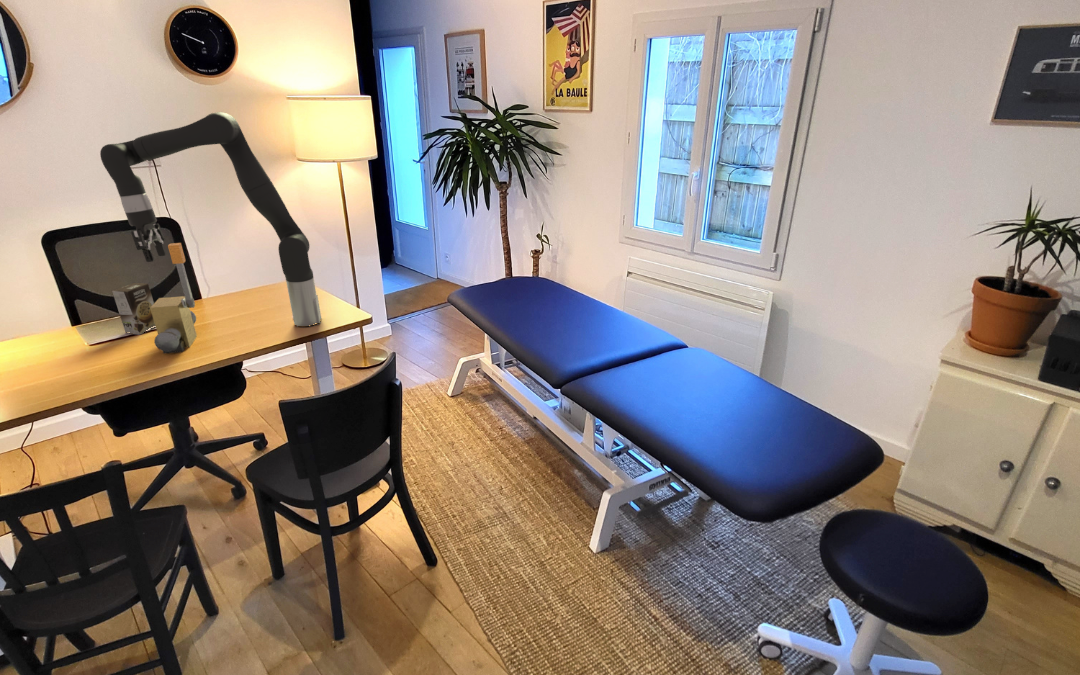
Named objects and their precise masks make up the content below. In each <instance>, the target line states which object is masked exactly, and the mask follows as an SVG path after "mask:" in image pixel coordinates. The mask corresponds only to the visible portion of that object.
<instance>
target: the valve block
mask: <svg viewBox="0 0 1080 675" xmlns="http://www.w3.org/2000/svg"><path fill="white" fill-rule="evenodd" d="M150 309H151V313H152V316H153V319H154V323H155V326H156V327H155V329H156V333H157V334H156V336H155V338H154V345H155V347H156V348H157V349H158V350H160V351H162V354H163V355H166V354H175V353H183V352H184V351H185V349H186V348H190V347H191V346H192V345H193V343H194V342H195V340H196V338H197V337H198V334H197V331H196V327H195V324H196V323H197V322H196V321H197V316H196V314H195V313H194V311H192V310H191V308H188V307H187V306H186V299H185V295H184V296H183V295H182V296H181V295H180V296H171V297H158V299H157V300H156V301H154V304H153V305H152V306H151V307H150Z"/></svg>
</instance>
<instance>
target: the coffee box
mask: <svg viewBox="0 0 1080 675" xmlns="http://www.w3.org/2000/svg"><path fill="white" fill-rule="evenodd" d="M111 291H112V294H113V298H114V302H115V304H116V307H117V310H118V313H119V314H118V315H119V317H120V320H121V323H122V327H123V330H124V332H130V333H133V334H132V335H139V336H140V335H142V334H144V332H145V331H146V330H148V329H149V328H151V327H153V326H155V323H154V319H153V316H152V313H151V309H150V307H151V306H152V305H153V304H154V303H155V301H154V299H153V295H152V292H151V289H150V285H149V283H145V282H139V283H138V282H132V283H129V284H126V285H124V286H121V287H118V288H116V289H113V290H111ZM145 333H146V332H145Z"/></svg>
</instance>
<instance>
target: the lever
mask: <svg viewBox="0 0 1080 675" xmlns="http://www.w3.org/2000/svg"><path fill="white" fill-rule="evenodd" d="M167 247H168V248H167V249H168V251H169V254H170V258H171V262H172V265H176V269H177V274H178V277H179V281H180V284H181V287H182V292H183V294H184V296H185V299H186V306H187V307H188V308H189V309H192V308H193V309H194V308H195V306H196V302H195V299H194V297H193V293H192V290H191V286H190V283H189V279H188V275H187V272H186V268H185V265H184V264H185V263H186V256H185V253H184V249H183V245H182V242H175V243H174V242H173V243H169V244H168V245H167Z"/></svg>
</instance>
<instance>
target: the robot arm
mask: <svg viewBox="0 0 1080 675" xmlns="http://www.w3.org/2000/svg"><path fill="white" fill-rule="evenodd" d="M210 145H211V146H212V145H220V146H221V147H222V149H223V150H224V151H225V152H224V153H226V155H228V157H229V159H230V161H231V163H232V166H233V168H234V171H235V175H236V176H237V180H238V183H239V185H240V187H241V189H242V191H243V192H244V194H245V195H246V197H247V199H248V200H249V202H250V203H251V205H252V206H253V207H254V208H255V210H256V211H257V212H258V213H259V214H260V215H261V216H262V217H264V218H265V220H267V221H268V223H269V224H270V225H271V227H272V228H273V230H274V231H275V233H276V235H277V236H278V239H279V241H280V242H279V244H278V256H279V260H280V264H281V269H282V272H283V275H284V276H285V277H284V278H285V282H286V288H287V293H288V298H289V305H290V308H291V313H292V321H293V324H295V325H297V326H296V327H298V326H309V325H313V324H315V323H320V324H321V322H320V319H321V320H322V313H321V309H320V302H319V297H318V294H317V291H316V289H317V288H316V283H315V279H314V278H315V277H314V271H313V269H312V268H311V264H310V259H309V251H310V241H309V240H308V238H307V236H306V235H305V233H304V232H303V231H302V230H301V228H300V227H299V226H298V224H297V223H296V221H295V220H294V219H293V217H292V216H291V214H290V212H289V210H288V208H287V206H286V204H285V202H284V201H283V199H282V197H281V196H280V193H279V192H278V190H277V188H276V187H275V185H274V183H273V181H272V180H271V178H270V177H269V175H268V174H267V172H266V171H265V169H264V168H263V166H262V164H261V163H260V161H259V160H258V159H257V156H255V154H254V153H253V151H252V149H251V147H250V145H249V144H248V141H247V139H246V137H245V135H244V133H243V130H242V128H241V127H240V125H239V123H238V121H237V120H236V119H235V118H234V117H233V115H231V114H229V113H226V112H223V111H219V112H218V111H217V112H212V113H209V114H208V115H205V117H202V118H201V119H198V120H197V121H194V122H192V123H190V124H187V125H184V126H179V127H177V128H172V129H167V130H162V131H157V132H151V133H148V134H145V135H142V136H139V137H136V138H135V139H132V140H128V141H125V142H119V143H109V144H106V145H103V146H102V147H101V149H100V152H99V153H100V161H101V163H102V164H103V167H104V168H105V170H106V172H107V173H108V175H109V176H110V178H111V180H112V181H113V182H114V184H115V187H116V190H117V193H118V195H119V197H120V202H121V205H122V208H123V211H124V213H125V216H126V219H127V221H128V224H129V225H130V226H131V227H135V229H136V230H133V231H132V230H131V231H130V234H131V236H132V239H133V242H134V246H135V248H136V250H137V251H142V254H143V256H144V259H145V261H146V262H147V263H151V262H154V261H155V257H154V255H153V252H152V249H151V244H154V247H155V250H156V253H157V255H158V257H163V256H166V255H167V252H166V249H165V247H164V242H165V241H166V238H165V236H164V233H163V231H162V228H161V225H160V224H159V223H157V221H158V219H157V216H156V214H155V212H154V209H153V206H152V203H151V200H150V199H149V196H148V195H147V192H146V189H145V186H144V184H143V181H142V179H141V178H140V176H139V175H137V174H135V173H134V171H133V170H132V166H135V165H138V164H141V163H143V162H146V161H152V160H156V159H160V158H165V157H167V156H171V155H173V154H176V153H179V152H182V151H185V150H188V149H191V148H196V147H201V146H210ZM295 325H294V326H295ZM309 327H310V326H309Z"/></svg>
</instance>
